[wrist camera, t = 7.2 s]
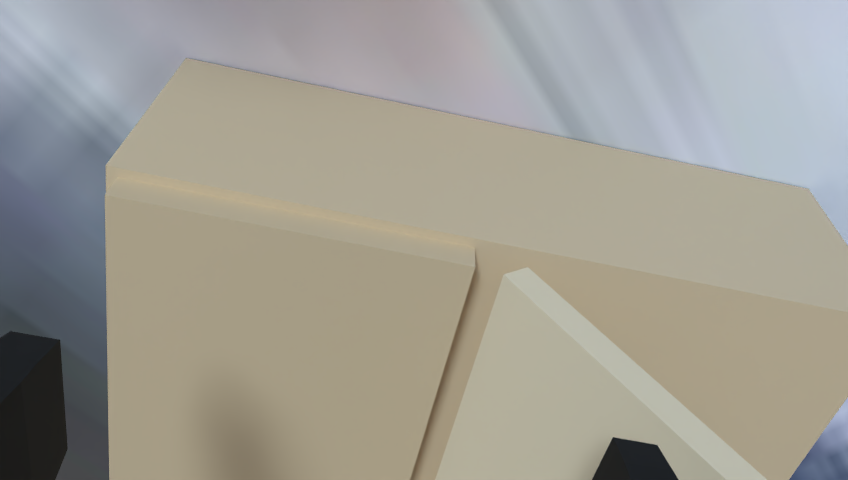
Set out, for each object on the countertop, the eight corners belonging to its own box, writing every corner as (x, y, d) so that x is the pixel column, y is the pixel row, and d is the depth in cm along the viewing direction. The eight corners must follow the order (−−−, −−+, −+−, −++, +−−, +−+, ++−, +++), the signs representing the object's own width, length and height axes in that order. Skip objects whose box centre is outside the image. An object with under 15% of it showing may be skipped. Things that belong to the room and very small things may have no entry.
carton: (808, 188, 20) (915, 343, 15) (634, 499, 26) (670, 672, 22) (186, 58, 18) (92, 183, 14) (169, 419, 25) (103, 585, 20)
